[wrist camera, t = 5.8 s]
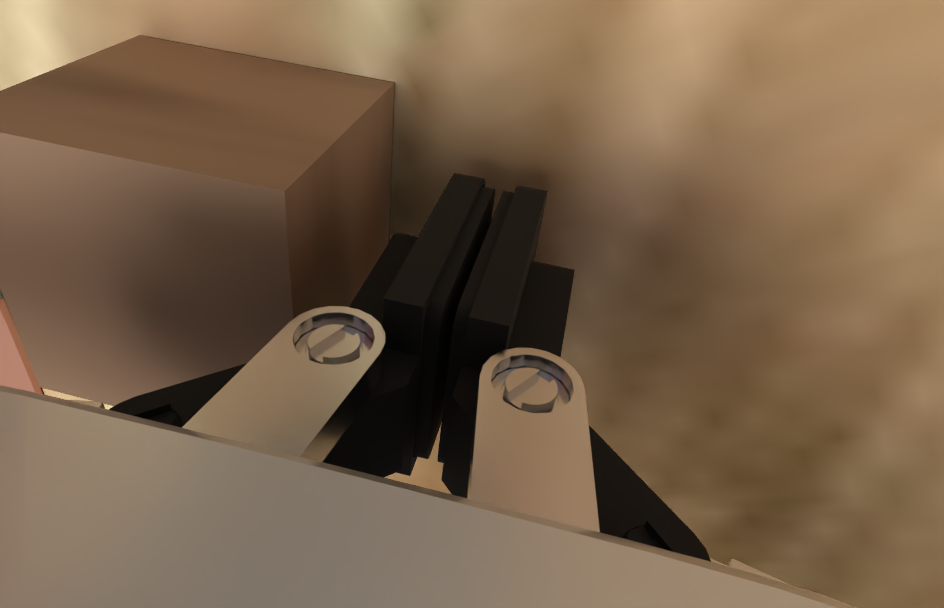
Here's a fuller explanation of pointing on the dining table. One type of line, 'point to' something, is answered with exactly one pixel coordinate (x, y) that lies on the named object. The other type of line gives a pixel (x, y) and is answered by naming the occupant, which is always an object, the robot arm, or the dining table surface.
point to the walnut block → (183, 209)
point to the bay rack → (14, 356)
